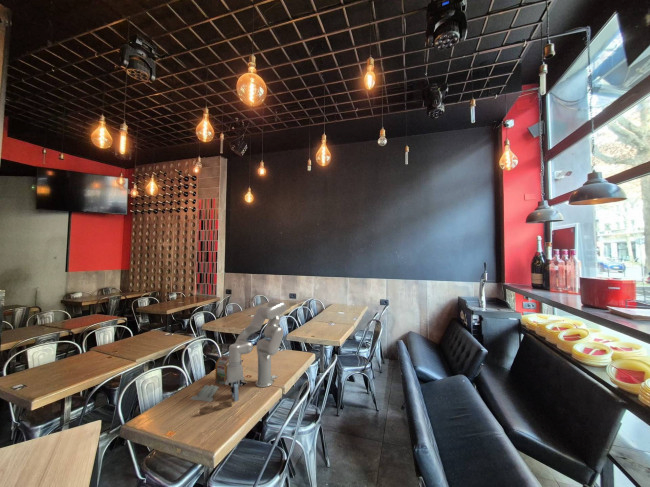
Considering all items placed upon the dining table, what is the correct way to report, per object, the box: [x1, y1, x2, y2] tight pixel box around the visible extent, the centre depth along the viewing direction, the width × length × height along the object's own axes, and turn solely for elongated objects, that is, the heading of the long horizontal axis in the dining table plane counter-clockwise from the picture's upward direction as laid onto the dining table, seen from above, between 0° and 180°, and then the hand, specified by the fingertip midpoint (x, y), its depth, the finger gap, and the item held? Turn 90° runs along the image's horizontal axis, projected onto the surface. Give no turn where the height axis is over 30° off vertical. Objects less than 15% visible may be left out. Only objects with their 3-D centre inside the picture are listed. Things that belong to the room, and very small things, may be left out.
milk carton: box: [214, 354, 229, 387], centre depth 195 cm, size 11×11×19 cm
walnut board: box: [198, 398, 233, 417], centre depth 157 cm, size 18×1×4 cm, turn 122°
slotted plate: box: [230, 381, 239, 402], centre depth 172 cm, size 10×2×9 cm, turn 32°
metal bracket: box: [190, 384, 220, 403], centre depth 174 cm, size 14×6×15 cm
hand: (234, 391), depth 172 cm, fingers closed on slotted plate, 2 cm apart
